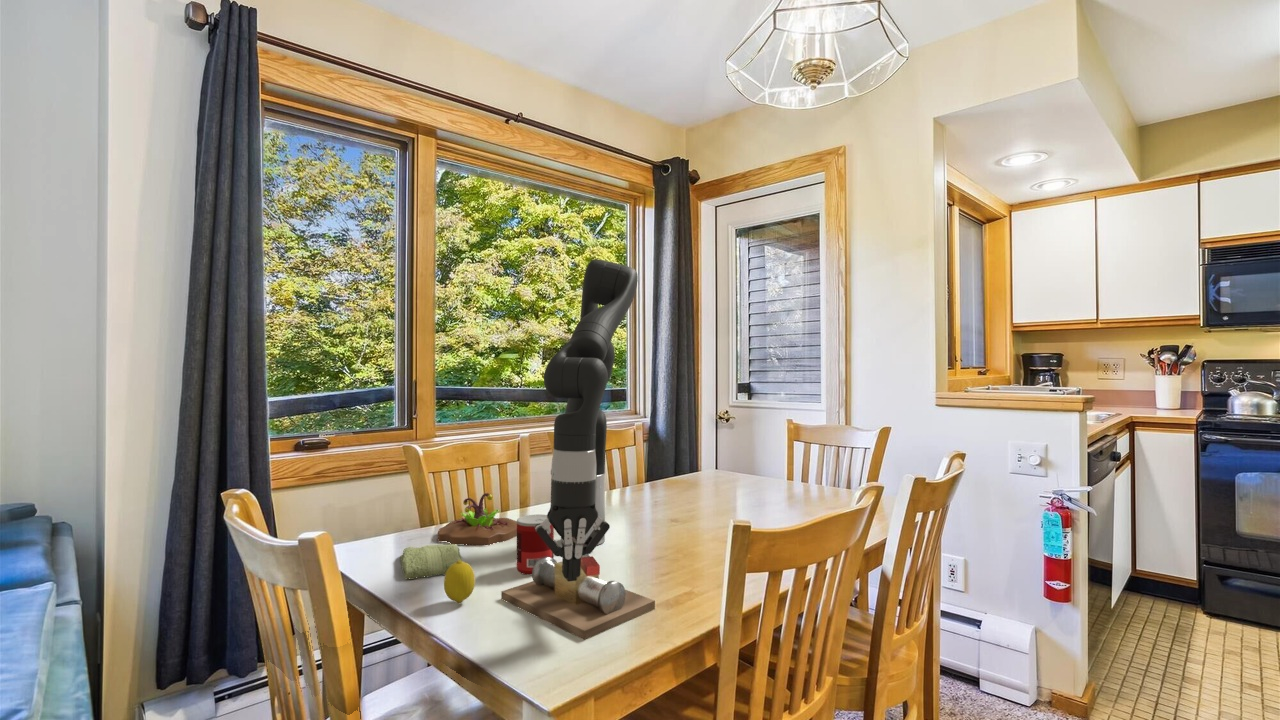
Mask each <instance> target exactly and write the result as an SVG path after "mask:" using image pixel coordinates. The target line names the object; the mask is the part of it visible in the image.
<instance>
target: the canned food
mask: <svg viewBox="0 0 1280 720" xmlns="http://www.w3.org/2000/svg"><path fill="white" fill-rule="evenodd" d="M546 519H547V514H527V515H523V516H520V517H518V518H517V519H516V521H517V536H516V569H517V572H519V573H520V574H522V573H523V575H527V574H532V571H533V567H534V565H535V563H536V562H537V561H538V560H539V559H540V558H542V557H546V556H547V557H550V558H553V559H554V556H555V555H554V553H553V552H552V551H551V550H550V548H549V547H548V546H547V545H546V543H545V542H544V541H543V540H542V538H541V537H540V536H539V535H538V533H537V532H536V530H535V525H536V524H541V523H542V522H543V521H544V520H546ZM550 529H551V533H550V534H549V535H550V537H551V538H552V539H553V540H554V541H555V539H554V535H555V531H554V530H555V529H554V527H553V526H552V525H550Z"/></svg>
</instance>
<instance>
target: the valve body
mask: <svg viewBox="0 0 1280 720" xmlns="http://www.w3.org/2000/svg"><path fill="white" fill-rule="evenodd" d="M599 577H600V575H592V576H586V574H585V573H584V571H583V570H582V568H581V570H580V576H579V577H577V580H576V581H567V579H566V578H565V577H564V576H563V573H562V561H559V562H557V560H556V559H555V558H554V557H553V558H550V557H547V556H546V557H542V558H540V559H539V560H538V561H537V562H536V563H535V565H534V567H533V571H532V575H531V578H532V581H534V583H535V584H537V585H539V586H542V585H547V586H550V587H552V588H554V589H555V596H556V597H559V598H561V599H563V600H566V601H568V602H570V603H573V604H575V605H577V604H579V603H582V602H584V601H585V602H588V603H590V604H592V605H595V606H597V607H599V609H600V611H601V612H602V613H604V614H610V613H612V612H615V611H617V610H619V609H621V608H622V607H623V605H624V602H625V597H626V592H625V590H626V588H625V587H624V586H625V585H624V584H622V583H621V582H620V581H616V580H610V581H606V580H603V579H600V578H599Z"/></svg>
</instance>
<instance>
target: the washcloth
mask: <svg viewBox="0 0 1280 720" xmlns="http://www.w3.org/2000/svg"><path fill="white" fill-rule="evenodd" d="M399 559H400V562H401V569H402V570H401V571H402V573H403V575H405V576H404V579H405V578H407V579H406V580H410V579H409V578H414V579H417V578H416V577H421V578H428V577H427V576H430V577H432V576H431V575H435V576H441V575H440V574H446V572H447V570H448V568H449V567H450V566H451V565H453V564H454V563H456V562H457V561H459V560H461V561H462V562H464V561H463V557H462V556H461V552H460V547H459V545H455V544H450V543H449V544H428V545H423V546H421V547H414V546H408V547H405V548H404V549H403V552H402V555H400V558H399ZM424 576H425V577H424Z"/></svg>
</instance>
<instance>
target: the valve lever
mask: <svg viewBox="0 0 1280 720" xmlns="http://www.w3.org/2000/svg"><path fill="white" fill-rule="evenodd" d="M581 568H582V570H583V571H584V573H585V574H586V576H592V575H599V576H600V572H601V570H600V568H601V565H600V564H599V563H598V561H597V560H596V559H595V558H594V556H593V555H592V556H590V554H585V555H583V556H582V557H581Z"/></svg>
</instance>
